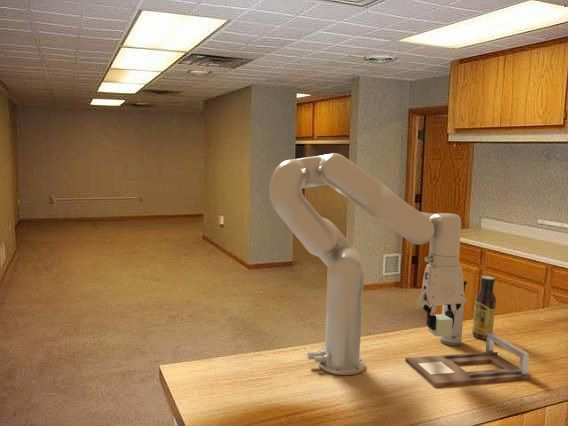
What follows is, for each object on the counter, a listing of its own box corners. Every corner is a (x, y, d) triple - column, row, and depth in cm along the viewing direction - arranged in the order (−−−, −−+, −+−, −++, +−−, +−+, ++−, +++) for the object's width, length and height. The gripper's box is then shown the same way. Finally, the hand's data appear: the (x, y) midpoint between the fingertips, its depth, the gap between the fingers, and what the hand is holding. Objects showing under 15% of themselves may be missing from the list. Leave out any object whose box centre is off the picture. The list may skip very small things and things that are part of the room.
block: (436, 336, 133) (437, 320, 132) (428, 330, 137) (429, 314, 137) (451, 335, 134) (452, 319, 133) (443, 329, 138) (443, 314, 138)
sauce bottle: (467, 334, 167) (472, 274, 165) (483, 332, 169) (488, 274, 166) (480, 341, 161) (485, 280, 158) (497, 339, 163) (502, 279, 160)
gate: (521, 374, 134) (523, 353, 133) (485, 351, 149) (487, 332, 148) (527, 374, 134) (528, 353, 134) (490, 351, 149) (492, 332, 149)
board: (434, 387, 128) (434, 381, 128) (405, 361, 144) (405, 355, 143) (530, 378, 134) (530, 373, 134) (492, 355, 150) (493, 349, 150)
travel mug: (458, 348, 154) (463, 284, 152) (437, 342, 158) (441, 280, 156) (465, 342, 159) (469, 280, 157) (444, 337, 163) (448, 276, 161)
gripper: (421, 264, 128) (417, 335, 130) (480, 262, 132) (476, 330, 134) (407, 258, 135) (404, 325, 137) (464, 256, 139) (460, 321, 141)
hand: (440, 327), depth 135 cm, fingers closed on block, 4 cm apart
